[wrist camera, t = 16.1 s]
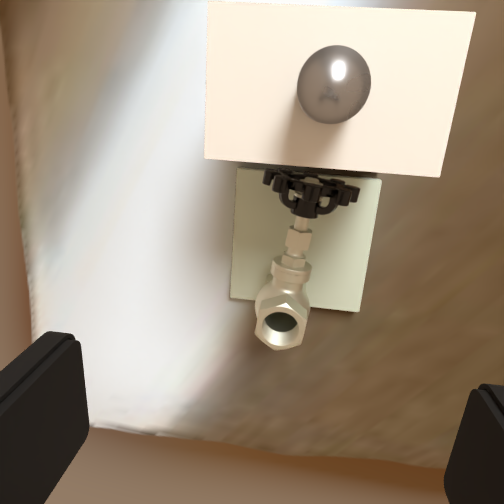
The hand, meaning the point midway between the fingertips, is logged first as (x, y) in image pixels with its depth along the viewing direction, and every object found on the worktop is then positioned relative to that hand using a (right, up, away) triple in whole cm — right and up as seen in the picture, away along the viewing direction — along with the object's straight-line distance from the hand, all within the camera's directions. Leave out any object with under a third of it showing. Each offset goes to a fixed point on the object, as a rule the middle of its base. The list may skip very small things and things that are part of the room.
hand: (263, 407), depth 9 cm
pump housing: (+4, +15, +20) cm, 25 cm away
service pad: (+4, +5, +23) cm, 24 cm away
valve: (+3, +4, +22) cm, 23 cm away
